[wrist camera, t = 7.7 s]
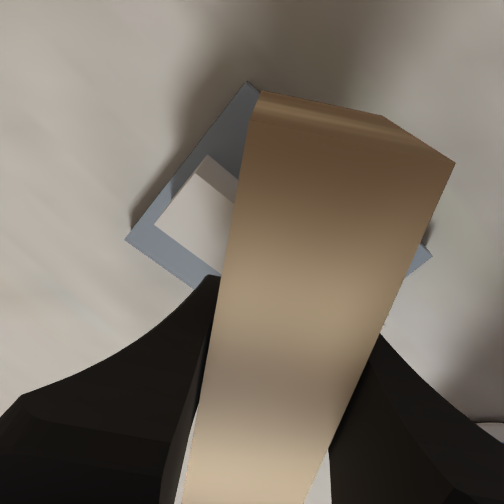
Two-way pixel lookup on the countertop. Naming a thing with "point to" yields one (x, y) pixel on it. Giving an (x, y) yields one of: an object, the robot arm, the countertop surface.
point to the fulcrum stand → (205, 201)
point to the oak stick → (304, 291)
